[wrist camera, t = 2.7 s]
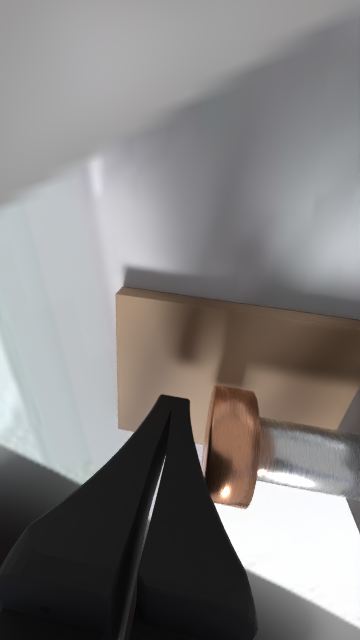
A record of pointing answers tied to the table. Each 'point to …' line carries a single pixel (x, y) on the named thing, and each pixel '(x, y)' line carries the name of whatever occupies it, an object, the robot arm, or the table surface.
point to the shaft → (272, 452)
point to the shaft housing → (236, 360)
